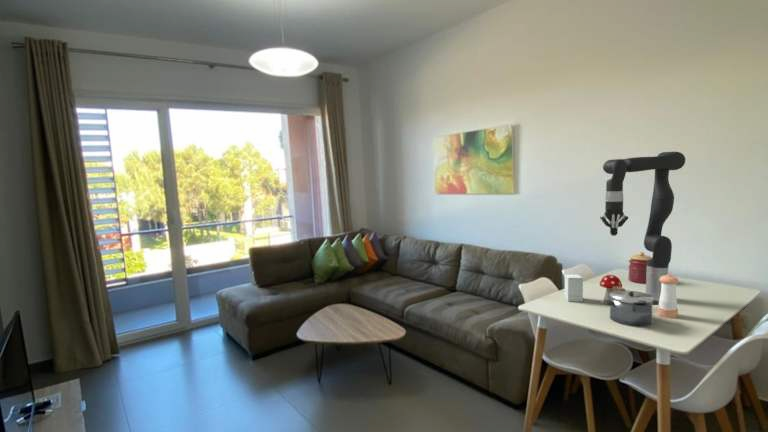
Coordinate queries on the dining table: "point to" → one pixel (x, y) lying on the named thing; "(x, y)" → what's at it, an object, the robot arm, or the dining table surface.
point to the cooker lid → (630, 296)
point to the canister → (638, 268)
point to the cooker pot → (631, 313)
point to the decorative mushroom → (609, 285)
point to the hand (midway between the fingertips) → (613, 235)
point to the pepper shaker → (668, 297)
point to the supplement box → (574, 288)
